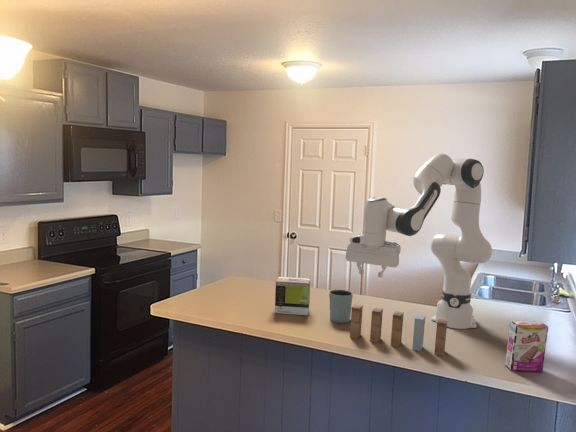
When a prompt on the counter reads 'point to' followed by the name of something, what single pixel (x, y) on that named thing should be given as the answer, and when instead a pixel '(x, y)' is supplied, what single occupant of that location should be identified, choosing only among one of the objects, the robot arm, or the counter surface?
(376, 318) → the domino
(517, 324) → the candy bar box
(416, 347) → the light blue domino
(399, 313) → the domino
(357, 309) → the domino
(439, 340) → the brown wooden block
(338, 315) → the teal cup
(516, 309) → the counter surface
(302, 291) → the tea box
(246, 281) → the counter surface
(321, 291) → the counter surface
